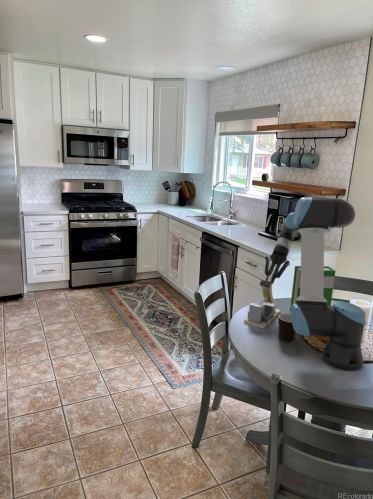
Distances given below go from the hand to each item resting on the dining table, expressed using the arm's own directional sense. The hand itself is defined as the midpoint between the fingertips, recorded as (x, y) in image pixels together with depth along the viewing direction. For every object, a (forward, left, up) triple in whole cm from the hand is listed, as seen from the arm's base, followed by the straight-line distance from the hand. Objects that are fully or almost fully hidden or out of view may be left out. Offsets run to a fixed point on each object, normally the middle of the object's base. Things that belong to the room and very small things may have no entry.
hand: (266, 288), depth 189 cm
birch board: (-4, -1, -14) cm, 15 cm away
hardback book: (+16, -18, -14) cm, 28 cm away
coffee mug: (-17, -18, -14) cm, 28 cm away
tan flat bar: (+3, -1, -8) cm, 8 cm away
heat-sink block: (-5, -1, -13) cm, 13 cm away
